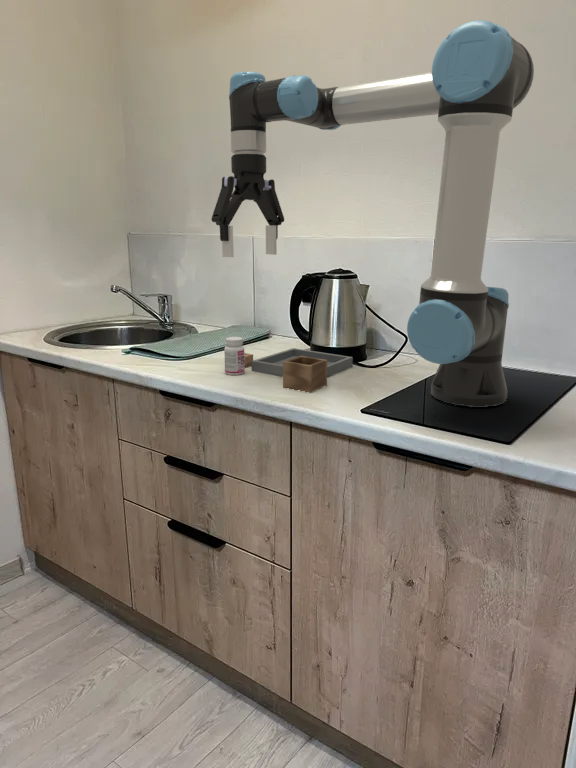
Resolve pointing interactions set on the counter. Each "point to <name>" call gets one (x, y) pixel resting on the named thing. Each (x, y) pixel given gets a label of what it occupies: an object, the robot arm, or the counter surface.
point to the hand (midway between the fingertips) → (250, 255)
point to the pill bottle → (234, 356)
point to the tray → (275, 361)
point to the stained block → (248, 360)
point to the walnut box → (304, 373)
